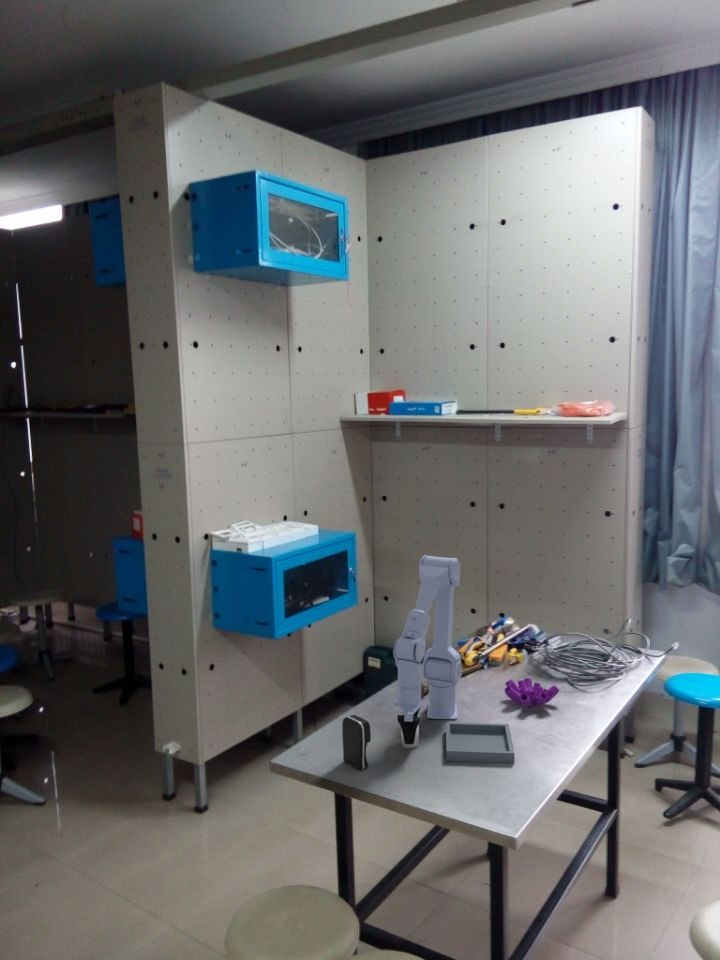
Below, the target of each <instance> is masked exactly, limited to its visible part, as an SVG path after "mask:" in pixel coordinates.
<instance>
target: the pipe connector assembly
mask: <svg viewBox="0 0 720 960" xmlns="http://www.w3.org/2000/svg"><path fill="white" fill-rule="evenodd" d="M504 684H505V686H506V687H505V688H504V690H503V691H504V693H505V695H506V697H508V698H509V699H510V700H512V701H513V702H516V703H519V704H522V705H523V706H524V707H527V708H529V707H533V706H542V705H544V704H547V703H549V702H550V701H552V699H553V698H555V697H556V696H557V695H558V694H559V692H560V688H559V687H558V686H556V685H555V684H553V685H552V686H551V687H549V688H548V689H546V688H544V687H543V686H541V683H539V682H534V684H533V680H532V677H525V678H524V679H522V680H518V681H517V684H516V682H515V681H514V680H513V679H512V678H510V679H509V680H507V681H506V682H504Z"/></svg>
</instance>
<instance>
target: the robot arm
mask: <svg viewBox="0 0 720 960" xmlns="http://www.w3.org/2000/svg"><path fill="white" fill-rule="evenodd" d="M461 568H462V567H461V564H460V561H459V560H458V558H456V557H445V556H444V557H442V556H434V555H427V554H424V555H423V556H422V557H421V558H420V559H419V563H418V574H419V580H420V581H421V583H420V586H419V591H418V594H417V598H416V603H415V607H414V608H413V609H412V610H410V611H409V612H408V616H407V618H406V621H405V624H404V627H403V631H402V633H401V636H399V637H398V638H396V640H395V642H394V645H393V649H392V653H393V658H394V659H395V666H396V667H397V696H398V697H397V698H398V699H394V700H393V706H397V707H398V708H399V709H400V711H401V712H402V714H397V717H396V719H397V723H398V724H399V726H400V730H401V729H402V732H403V737H404V741H405V744H414V740H415V734H416V729H417V727H418V724H419V725H420V723H421V719H422V718H421V716H418V715H419V712H420V710H421V708H422V706H423V701H422V697H421V681H422V676H423V678H424V679H426V682H427V683H429V690H428V703H427V714H426V715H427V719H431V720H432V719H435V720H436V719H437V720H440V719H441V720H457V719H458V711H457V710H458V705H457V703H456V685H457V684H458V683H459V682H460V681H461V679H462V676H463V675H462V670H463V665H462V657H461V656H462V655H461V654H460V653H459V652H458V651H457V650H456V649H455V648H453V646H452V643H453V642H452V639H453V619H454V618H453V617H454V615H453V614H454V602H455V601H454V600H455V599H454V596H455V588H458V587H460V582H461V571H462V569H461ZM434 600H435V601H434ZM434 602H435V605H434V620H433V621H434V625H433V626H434V627H433V645H432V647H430V648H428V649H427V650H426V643H427V640H426V636H427V633H428V630H429V627H430V624H431V620H432V619H431V616H430V614H429V613H430V611H431V607H432V606H433V603H434ZM461 675H462V676H461Z"/></svg>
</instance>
